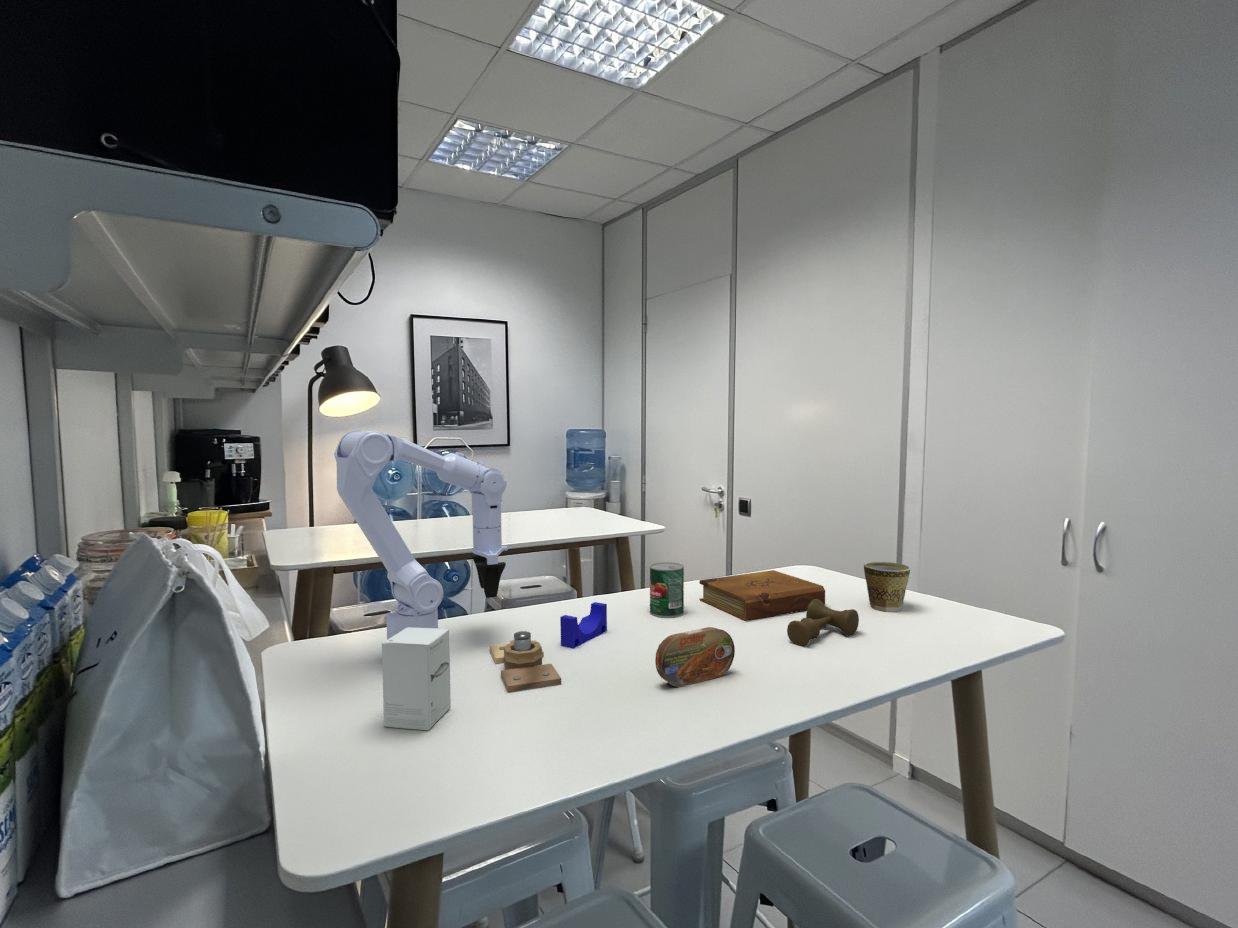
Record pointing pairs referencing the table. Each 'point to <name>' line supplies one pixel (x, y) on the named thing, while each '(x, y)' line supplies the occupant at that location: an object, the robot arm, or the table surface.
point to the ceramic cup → (886, 585)
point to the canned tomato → (666, 589)
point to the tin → (694, 656)
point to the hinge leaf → (516, 653)
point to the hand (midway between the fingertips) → (488, 592)
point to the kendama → (821, 623)
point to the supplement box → (416, 678)
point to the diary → (760, 594)
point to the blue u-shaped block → (583, 626)
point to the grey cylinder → (522, 641)
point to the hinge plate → (529, 675)
